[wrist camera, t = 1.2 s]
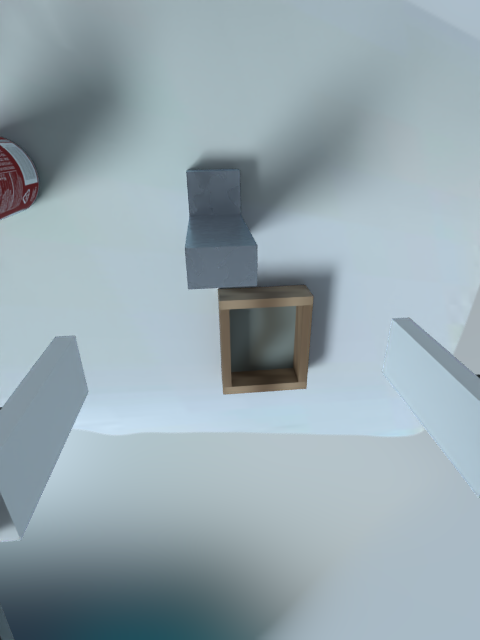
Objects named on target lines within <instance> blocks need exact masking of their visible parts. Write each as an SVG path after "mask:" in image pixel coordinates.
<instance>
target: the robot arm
mask: <svg viewBox="0 0 480 640" xmlns="http://www.w3.org/2000/svg"><path fill="white" fill-rule="evenodd" d="M382 373H383V374H384V376H385V377H386V378H387V380H388V381H389V382H390V384H391V385H392V386H393V387H394V389H395V390H396V391H397V393H398V394H399V395H400V397H401V398H402V399H403V401H404V402H405V403H406V404H407V406H408V407H409V408H410V410H411V411H412V412H413V414H414V415H415V416H416V417H417V419H418V420H419V421H420V423H421V424H422V425H423V427H424V428H425V429H426V430H427V432H428V433H429V434H430V436H431V437H432V438H433V440H434V441H435V442H436V443H437V445H438V446H439V447H440V449H441V450H442V451H443V453H444V454H445V455H446V456H447V458H448V459H449V460H450V462H451V463H452V464H453V465H454V467H455V468H456V469H457V471H458V472H459V473H460V475H461V476H462V477H463V479H464V480H465V481H466V482H467V484H468V485H469V486H470V488H471V489H472V490H473V492H474V493H475V494H476V495H477V497H478V498H480V375H475V374H474V373H473V372H472V371H470V370H469V369H468V368H467V367H466V366H465V365H464V364H463V363H461V362H460V361H459V360H458V359H457V358H456V357H454V356H453V355H452V354H451V353H450V352H449V351H447V350H446V349H445V348H444V347H443V346H442V345H440V344H439V343H438V342H437V341H436V340H435V339H434V338H432V337H431V336H430V335H429V334H428V333H427V332H425V331H424V330H423V329H422V328H421V327H420V326H418V325H417V324H416V323H415V322H414V321H413V320H412V319H410V318H394V319H392V322H391V327H390V333H389V338H388V344H387V349H386V354H385V360H384V365H383V371H382ZM87 394H88V388H87V383H86V379H85V375H84V371H83V367H82V362H81V358H80V354H79V350H78V346H77V341H76V337H75V336H59V337H55V338H54V339H53V341H52V342H51V343H50V344H49V346H48V347H47V348H46V350H45V351H44V352H43V354H42V355H41V356H40V358H39V359H38V360H37V362H36V363H35V364H34V366H33V367H32V368H31V370H30V371H29V372H28V374H27V375H26V376H25V378H24V379H23V380H22V382H21V383H20V384H19V386H18V387H17V388H16V390H15V391H14V392H13V394H12V395H11V396H10V398H9V399H8V400H7V402H6V403H5V404H4V406H3V407H0V542H6V541H17V540H21V539H22V537H23V534H24V532H25V530H26V528H27V526H28V524H29V521H30V519H31V517H32V515H33V513H34V510H35V508H36V506H37V504H38V501H39V499H40V497H41V495H42V493H43V491H44V488H45V486H46V484H47V482H48V480H49V477H50V475H51V473H52V471H53V469H54V466H55V464H56V462H57V460H58V458H59V455H60V453H61V451H62V449H63V447H64V444H65V442H66V440H67V438H68V436H69V433H70V431H71V429H72V427H73V425H74V422H75V420H76V418H77V416H78V414H79V411H80V409H81V407H82V405H83V403H84V400H85V398H86V396H87ZM0 640H14V638H13V635H12V633H11V630H10V627H9V625H8V622H7V620H6V617H5V614H4V612H3V609H2V607H1V604H0Z"/></svg>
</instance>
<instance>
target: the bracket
mask: <svg viewBox="0 0 480 640" xmlns="http://www.w3.org/2000/svg"><path fill="white" fill-rule="evenodd" d="M186 174H187V187H188V201H189V215H190V216H189V223H188V230H187V237H186V244H185V256H186V268H187V280H188V289H205V288H226V287H246V286H257V244H256V242H255V240H254V238H253V236H252V234H251V232H250V231H249V229H248V227H247V225H246V223H245V221H244V219H243V218H242V216H241V198H240V170H239V169H215V170H187V171H186Z"/></svg>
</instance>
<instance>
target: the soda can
mask: <svg viewBox="0 0 480 640" xmlns="http://www.w3.org/2000/svg"><path fill="white" fill-rule="evenodd" d="M38 192H39V176H38V172H37V170H36V167H35V165H34V163H33V161H32V160H31V158H30V157H29V156H28V154H27V153H26V152H25V151H24V150H23V149H22V148H21V147H19V146H18V145H17V144H15V143H14V142H12V141H10V140H8V139H6V138H3V137H0V220H2V219H4V218H7V217H9V216H12V215H14V214H17V213H19V212H22V211H24V210H26V209H27V208H29V207H30V206H31V205H32V204H33V203H34V201H35V200H36V198H37V195H38Z"/></svg>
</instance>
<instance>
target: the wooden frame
mask: <svg viewBox="0 0 480 640" xmlns="http://www.w3.org/2000/svg"><path fill="white" fill-rule="evenodd" d="M218 300H219V323H220V345H221V368H222V384H223V394H237V393H252V392H266V391H280V390H294V389H306V386H307V373H308V360H309V347H310V335H311V322H312V309H313V295H312V294H311V292H310V291H309V289H308V288H307V287H306V285H291V286H270V287H250V288H229V289H218Z"/></svg>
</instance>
